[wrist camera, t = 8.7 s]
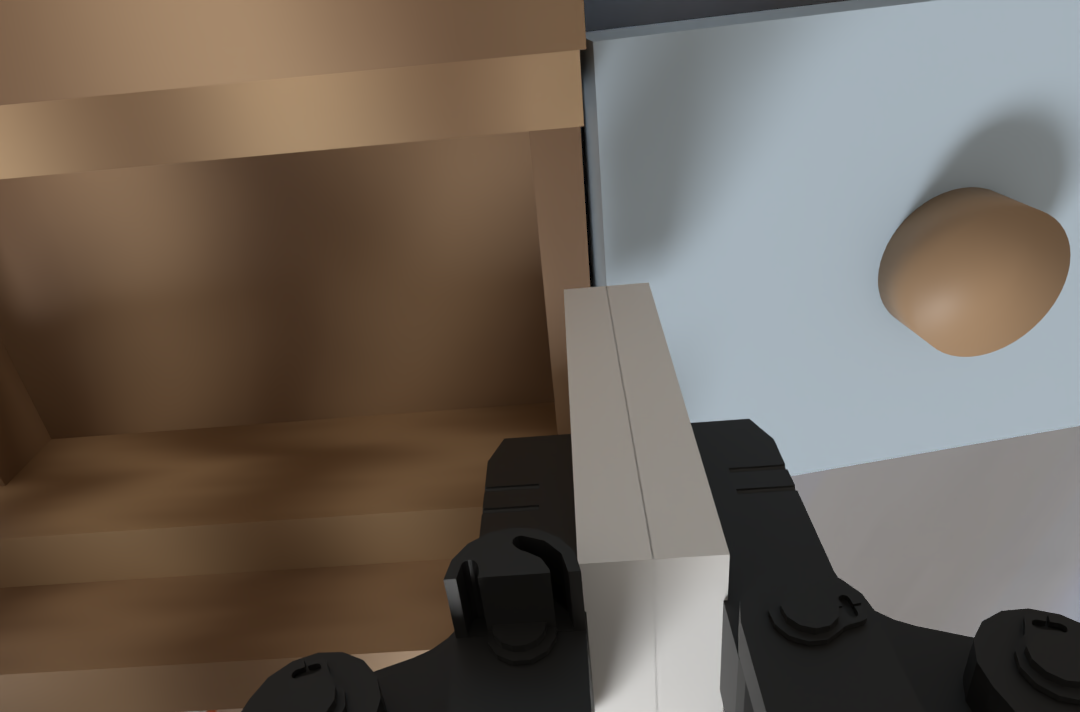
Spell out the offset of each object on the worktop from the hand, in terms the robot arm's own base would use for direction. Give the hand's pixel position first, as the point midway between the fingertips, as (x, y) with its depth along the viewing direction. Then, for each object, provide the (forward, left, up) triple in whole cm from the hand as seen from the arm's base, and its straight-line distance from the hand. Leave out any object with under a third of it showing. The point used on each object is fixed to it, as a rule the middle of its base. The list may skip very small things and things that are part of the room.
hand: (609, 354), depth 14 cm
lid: (+7, 0, -5) cm, 9 cm away
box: (-8, 0, -6) cm, 10 cm away
